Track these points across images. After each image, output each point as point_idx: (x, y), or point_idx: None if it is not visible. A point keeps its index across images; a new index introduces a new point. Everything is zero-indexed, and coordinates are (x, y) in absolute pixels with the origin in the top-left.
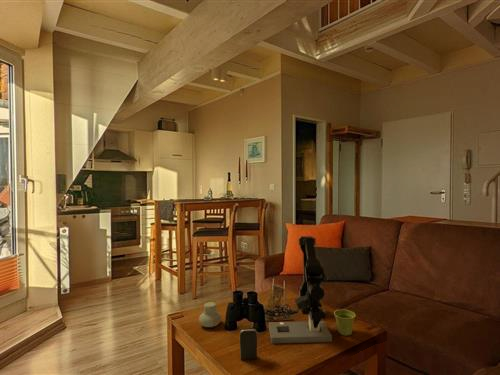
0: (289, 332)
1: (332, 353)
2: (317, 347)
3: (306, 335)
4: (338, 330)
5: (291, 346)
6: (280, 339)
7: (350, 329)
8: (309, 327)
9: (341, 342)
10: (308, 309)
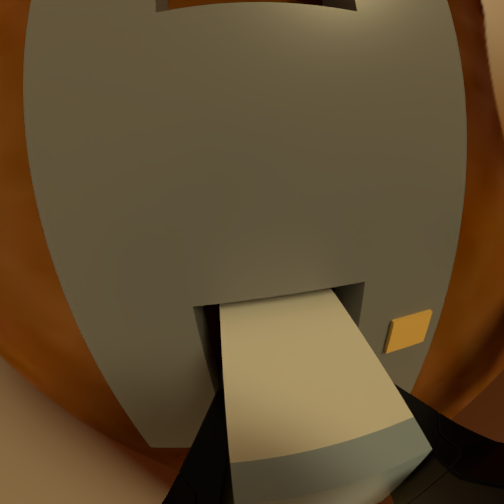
0: (147, 2)
1: (26, 379)
2: (41, 314)
3: (78, 258)
4: None
5: (11, 80)
6: None
7: None
8: (303, 315)
9: None
10: (485, 495)
